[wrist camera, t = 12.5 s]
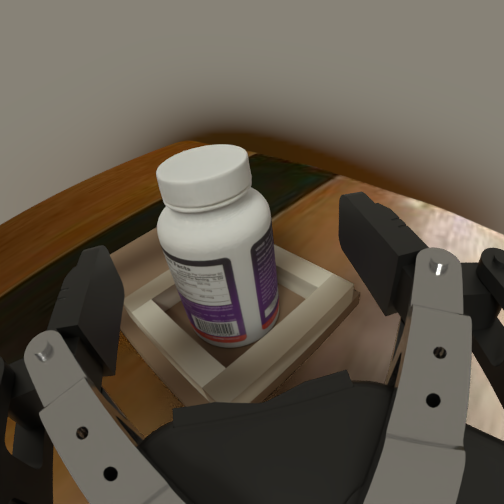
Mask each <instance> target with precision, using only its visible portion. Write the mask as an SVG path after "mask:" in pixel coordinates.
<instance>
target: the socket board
mask: <svg viewBox="0 0 504 504" xmlns="http://www.w3.org/2000/svg"><path fill="white" fill-rule="evenodd" d="M274 251H275V262H276V273H277V283H278V293H279V314H278V318H277V320H276V322H275V324H274V326H273V327H272V329H271V330H270V331H269V332H268V333H267V334H266V335H265V336H264V337H262V338H261V339H259V340H257V341H256V342H253V343H251V344H248V345H245V346H241V347H236V348H224V347H218V346H215V345H212V344H210V343H208V342H206V341H204V340H203V339H202V338H200V337H199V336H198V335H197V334H196V332H195V331H194V329H193V327H192V325H191V323H190V321H189V319H188V316H187V314H186V311H185V308H184V306H183V303H182V301H181V298H180V296H179V293H178V291H177V288H176V285H175V282H174V280H173V277H172V274H171V272H170V269H169V266H168V264H167V261H166V258H165V255H164V253H163V250H162V247H161V245H160V241H159V238H158V233H157V227H156V228H155V229H153V230H151V231H150V232H148V233H146V234H144V235H143V236H141V237H139V238H137V239H136V240H134V241H132V242H131V243H129V244H127V245H126V246H124V247H122V248H121V249H119V250H117V251H116V252H114V253H112V254H111V255H110V257H111V259H112V261H113V263H114V265H115V267H116V270H117V272H118V274H119V276H120V278H121V280H122V283H123V287H124V294H125V297H124V304H123V311H122V318H121V325H120V330H121V332H122V333H123V334H124V335H125V337H126V338H127V339H128V341H129V342H130V343H131V344H132V346H133V347H134V348H135V349H136V351H137V352H138V353H139V354H140V356H141V357H142V358H143V359H144V360H145V362H146V363H147V364H148V365H149V367H150V368H151V369H152V370H153V371H154V372H155V374H156V375H157V376H158V377H159V378H160V379H161V381H162V382H163V383H164V384H165V385H166V386H167V387H168V388H169V390H170V391H171V392H172V393H173V394H174V395H175V396H176V397H177V398H178V400H179V401H180V402H181V403H182V404H183V405H184V406H185V407H187V406H194V405H200V404H206V403H212V402H227V403H261V402H262V401H263V400H264V399H266V398H267V397H268V396H269V395H270V394H271V393H272V392H273V391H274V390H275V389H276V388H277V387H278V386H279V385H281V384H282V383H283V382H284V381H285V380H286V379H287V378H288V377H289V376H290V375H291V374H292V373H293V372H294V371H295V370H296V369H297V368H298V367H299V366H300V365H301V364H302V363H303V362H304V361H305V360H306V359H307V358H308V357H309V356H310V355H311V354H312V353H313V352H314V351H315V350H316V349H317V348H318V347H319V346H320V345H321V344H322V343H323V342H324V341H325V340H326V339H327V337H328V336H329V335H330V334H331V333H332V332H333V331H334V330H335V329H336V328H337V327H338V326H339V325H340V324H341V322H342V321H343V320H344V319H345V318H346V317H347V316H348V315H349V314H350V313H351V311H352V310H353V309H354V308H355V307H356V306H357V305H358V303H359V297H360V292H358V291H356V290H354V284H353V283H351V282H349V281H347V280H345V279H343V278H341V277H339V276H337V275H335V274H333V273H331V272H329V271H327V270H325V269H323V268H321V267H319V266H317V265H315V264H313V263H311V262H309V261H307V260H305V259H303V258H301V257H299V256H297V255H295V254H293V253H290V252H288V251H286V250H284V249H282V248H280V247H278V246H276V245H274Z"/></svg>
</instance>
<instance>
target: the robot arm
mask: <svg viewBox="0 0 504 504" xmlns="http://www.w3.org/2000/svg"><path fill="white" fill-rule="evenodd" d="M339 241H340V245H341V248H342V250H343V252H344V253H345V255H346V256H347V258H348V259H349V261H350V262H351V264H352V265H353V267H354V268H355V270H356V271H357V273H358V274H359V276H360V277H361V279H362V280H363V282H364V283H365V285H366V286H367V288H368V290H369V291H370V293H371V294H372V296H373V297H374V299H375V300H376V302H377V304H378V305H379V307H380V308H381V310H382V312H383V313H384V315H385V316H388V315H391V314H394V313H397V312H398V313H399V315H400V316H401V318H400V321H399V325H398V330H397V335H396V340H395V344H394V349H393V353H392V358H391V362H390V366H389V370H388V373H387V376H386V379H385V382H384V384H382V383H378V382H372V381H351V379H350V377H349V374H348V372H347V370H344V371H340V372H337V373H334V374H331V375H327V376H324V377H320V378H317V379H313V380H310V381H306V382H304V383H302V384H300V385H298V386H296V387H294V388H292V389H290V390H288V391H286V392H284V393H282V394H280V395H278V396H276V397H274V398H272V399H270V400H268V401H266V402H263V403H227V402H212V403H206V404H200V405H194V406H187V407H180V408H173V421H172V422H169V423H167V424H165V425H163V426H161V427H160V428H158V429H157V430H155V431H154V432H152V433H151V434H150V435H148V436H147V437H146V438H145V437H144V436H143V435H142V434H141V433H140V432H139V431H138V429H137V428H136V427H135V426H134V425H133V424H132V423H131V421H130V420H129V419H128V418H127V417H126V415H125V414H124V413H123V412H122V410H121V409H120V408H119V407H118V405H117V404H116V403H115V401H114V400H113V399H112V398H111V396H110V395H109V394H108V392H107V391H106V390H105V388H104V387H103V386H102V385H101V384H102V377H104V376H113V375H115V370H116V360H117V350H118V341H119V333H120V325H121V318H122V311H123V304H124V297H125V294H124V287H123V283H122V280H121V278H120V276H119V274H118V272H117V270H116V267H115V265H114V263H113V261H112V259H111V257H110V254H109V252H108V250H107V248H106V247H105V246H103V245H102V246H98V247H94V248H90V249H86V250H83V251H82V253H81V256H80V259H79V261H78V264H77V267H73V269H72V270H71V271H70V272H69V274H68V275H67V276H66V277H65V279H64V282H63V284H62V287H61V292H59V295H58V298H57V299H58V301H56V304H55V307H54V310H53V313H52V316H51V319H50V322H49V325H48V328H47V331H45V332H42V333H40V334H38V335H37V336H36V337H34V338H33V339H32V340H31V342H30V343H29V344H28V346H27V348H26V350H25V354H24V358H22V359H20V360H18V361H16V362H14V363H11V364H9V365H8V364H7V363H6V362H5V361H4V360H3V359H2V358H1V357H0V504H53V444H54V446H55V448H56V450H57V452H58V454H59V455H60V457H61V459H62V461H63V462H64V464H65V466H66V467H67V469H68V471H69V472H70V474H71V476H72V477H73V479H74V481H75V482H76V484H77V485H78V487H79V488H80V490H81V491H82V493H83V494H84V496H85V497H86V499H87V500H88V502H89V503H90V504H504V441H502V440H500V439H498V438H496V437H494V436H492V435H489V434H487V433H485V432H483V431H481V430H479V429H476V428H474V427H472V426H470V425H468V424H466V417H467V409H468V399H469V389H470V375H471V354H472V352H473V354H474V356H475V357H476V359H477V361H478V363H479V364H480V366H481V368H482V370H483V371H484V373H485V375H486V377H487V378H488V380H489V382H490V384H491V386H492V388H493V389H494V391H495V393H496V395H497V397H498V399H499V401H500V403H501V405H502V407H503V409H504V326H503V325H502V323H501V322H500V321H499V319H498V318H497V316H498V314H499V313H500V311H501V309H502V308H503V310H504V250H501V249H498V248H488V249H485V250H484V251H483V252H482V254H481V257H480V260H479V263H460V261H459V260H458V259H457V257H456V256H454V255H453V254H452V253H450V252H448V251H446V250H444V249H440V248H429V247H428V246H427V245H426V244H425V243H424V242H423V241H422V240H421V239H420V238H419V237H418V236H417V235H416V234H415V233H414V232H413V231H412V230H411V229H410V228H409V227H408V226H406V224H405V223H404V222H403V221H402V220H401V219H399V217H398V216H397V215H396V214H395V213H394V212H393V211H392V210H391V209H389V208H387V207H385V206H383V205H381V204H379V203H376V204H375V203H374V202H373V201H372V200H371V199H370V198H369V197H368V196H367V195H366V194H365V193H364V192H357V193H351V194H345V195H342V196H341V197H340V201H339ZM7 417H10V418H11V419H12V420H13V421H15V422H16V427H15V435H14V444H13V454H12V455H11V454H10V453H9V452H8V450H7V448H6V446H5V440H4V439H5V431H6V423H7Z"/></svg>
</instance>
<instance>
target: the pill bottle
mask: <svg viewBox="0 0 504 504" xmlns="http://www.w3.org/2000/svg"><path fill="white" fill-rule="evenodd" d="M156 176H157V180H158V184H159V188H160V192H161V195H162V198H163V202H164V204H165V205H166V207H165V208H164V209H163V211H162V213H161V214H160V217H159V219H158V224H157V233H158V238H159V241H160V245H161V247H162V250H163V253H164V255H165V258H166V261H167V264H168V266H169V269H170V272H171V274H172V277H173V280H174V282H175V285H176V288H177V291H178V293H179V296H180V298H181V301H182V303H183V306H184V308H185V311H186V314H187V316H188V319H189V321H190V323H191V325H192V327H193V329H194V331H195V332H196V334H197V335H198V336H199V337H200V338H202V339H203V340H204V341H206V342H208V343H210V344H212V345H215V346H218V347H224V348H236V347H241V346H245V345H248V344H251V343H253V342H256V341H257V340H259V339H261V338H262V337H264V336H265V335H266V334H267V333H268V332H269V331H270V330H271V329H272V327H273V326H274V324H275V322H276V320H277V318H278V314H279V293H278V283H277V273H276V262H275V251H274V241H273V231H272V221H271V214H270V209H269V205H268V203H267V201H266V200H265V198H264V197H263V196H262V195H261V194H260V193H259V192H258V191H256V190H255V189H253V188H251V183H252V182H251V178H252V176H251V172H250V166H249V161H248V155H247V152H246V151H245V150H244V149H242V148H241V147H238V146H233V145H219V144H218V145H208V146H202V147H198V148H193V149H190V150H187V151H184V152H181V153H179V154H176V155H174V156H172V157H171V158H169V159H167V160H166V161H164V162H163V163H162V164H161V165H160V166H159V167H158V169H157V171H156Z"/></svg>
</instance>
